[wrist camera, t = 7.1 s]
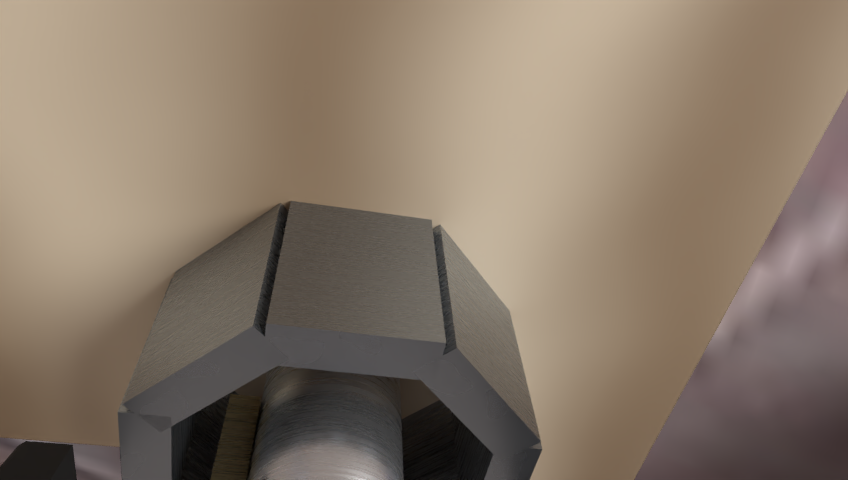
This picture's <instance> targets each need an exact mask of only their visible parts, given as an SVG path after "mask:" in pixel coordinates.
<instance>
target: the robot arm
mask: <svg viewBox="0 0 848 480" xmlns="http://www.w3.org/2000/svg"><path fill="white" fill-rule="evenodd" d="M0 480H77V478H76V470H75V462H74V453H73V445H67V444H55V443H42V442H30V441H25V442H24V443H22V444H21V445H19V446H18V447H17V448H16V449H15V450H14V451H13V453H12V454H11V455H10V456H9V457H8V458H7V459H6V461H5V462H4V463H3V464H2V465H1V466H0Z"/></svg>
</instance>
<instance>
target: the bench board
mask: <svg viewBox="0 0 848 480" xmlns="http://www.w3.org/2000/svg"><path fill="white" fill-rule="evenodd" d="M847 91H848V0H0V437H2V438H15V439H27V440H40V441H52V442H65V443H77V444H90V445H102V446H114V447H120V443H119V427H118V410H119V407H120V405H121V402H122V400H123V397H124V395H125V392H126V390H127V387H128V385H129V382H130V380H131V377H132V375H133V373H134V370H135V368H136V365H137V363H138V360H139V358H140V355H141V353H142V350H143V348H144V345H145V343H146V340H147V338H148V335H149V333H150V331H151V328H152V326H153V323H154V321H155V318H156V316H157V313H158V311H159V308H160V306H161V303H162V301H163V298H164V296H165V293H166V291H167V288H168V286H169V284H170V281H171V279H172V278H173V277H174V274H175V272H176V271H177V270H178V269H180V268H181V267H183V266H184V265H186V264H188V263H189V262H191V261H192V260H194V259H195V258H197V257H198V256H200V255H201V254H203V253H204V252H206V251H207V250H209V249H210V248H212V247H214V246H215V245H217V244H218V243H220V242H221V241H223V240H224V239H226V238H227V237H229V236H230V235H232V234H233V233H235V232H236V231H238V230H240V229H241V228H243V227H244V226H246V225H247V224H249V223H250V222H252V221H253V220H255V219H256V218H258V217H259V216H261V215H263V214H264V213H266V212H267V211H269V210H270V209H272V208H273V207H275V206H276V205H278V204H279V203H281V204H282V205H283V206H284V207H285V208H286V209H287V210H288V211H289V207H290V202H291V201H297V202H305V203H312V204H320V205H327V206H334V207H342V208H349V209H356V210H364V211H371V212H379V213H386V214H393V215H401V216H408V217H415V218H423V219H430V220H432V227H433V228H435V227H436V226H438V225H441V226H442V227H443V228H444V230H445V231H446V232H447V233H448V235H449V236H450V237H451V238H452V240H453V241H454V242H455V243H456V245H457V246H458V247H459V248H460V250H461V251H462V252H463V253H464V255H465V256H466V257H467V258H468V260H469V261H470V262H471V263H472V265H473V266H474V267H475V268H476V269H477V271H478V272H479V273H480V274H481V276H482V277H483V278H484V279H485V281H486V282H487V283H488V284H489V286H490V287H491V288H492V289H493V291H494V292H495V293H496V294H497V296H498V297H499V298H500V299H501V301H502V302H503V303H504V304H505V306H506V307H507V308H508V309H509V311H510V315H511V319H512V323H513V327H514V331H515V335H516V339H517V344H518V348H519V352H520V356H521V360H522V364H523V368H524V373H525V377H526V381H527V385H528V389H529V393H530V397H531V402H532V406H533V410H534V414H535V418H536V422H537V426H538V431H539V435H540V439H541V445H542V452H541V454H540V456H539V459H538V461H537V463H536V466H535V468H534V471H533V473H532V475H531V478H530V480H634V479H635V477H636V475H637V473H638V471H639V470H640V468H641V466H642V464H643V462H644V461H645V459H646V457H647V455H648V453H649V451H650V450H651V448H652V446H653V444H654V442H655V440H656V439H657V437H658V435H659V433H660V431H661V430H662V428H663V426H664V424H665V422H666V420H667V419H668V417H669V415H670V413H671V411H672V410H673V408H674V406H675V404H676V402H677V400H678V399H679V397H680V395H681V393H682V391H683V389H684V388H685V386H686V384H687V382H688V380H689V379H690V377H691V375H692V373H693V371H694V369H695V368H696V366H697V364H698V362H699V360H700V358H701V357H702V355H703V353H704V351H705V349H706V348H707V346H708V344H709V342H710V340H711V338H712V337H713V335H714V333H715V331H716V329H717V328H718V326H719V324H720V322H721V320H722V318H723V317H724V315H725V313H726V311H727V309H728V307H729V306H730V304H731V302H732V300H733V298H734V297H735V295H736V293H737V291H738V289H739V287H740V286H741V284H742V282H743V280H744V278H745V277H746V275H747V273H748V271H749V269H750V267H751V266H752V264H753V262H754V260H755V258H756V256H757V255H758V253H759V251H760V249H761V247H762V246H763V244H764V242H765V240H766V238H767V236H768V235H769V233H770V231H771V229H772V227H773V225H774V224H775V222H776V220H777V218H778V216H779V215H780V213H781V211H782V209H783V207H784V205H785V204H786V202H787V200H788V198H789V196H790V195H791V193H792V191H793V189H794V187H795V185H796V184H797V182H798V180H799V178H800V176H801V174H802V173H803V171H804V169H805V167H806V165H807V164H808V162H809V160H810V158H811V156H812V154H813V153H814V151H815V149H816V147H817V145H818V143H819V142H820V140H821V138H822V136H823V134H824V133H825V131H826V129H827V127H828V125H829V123H830V122H831V120H832V118H833V116H834V114H835V113H836V111H837V109H838V107H839V105H840V103H841V102H842V100H843V98H844V96H845V94H846V92H847ZM266 375H267V372H266V373H264V374H262V375H261V376H259V377H257V378H255V379H254V380H252V381H250V382H248V383H247V384H245V385H243V386H241V387H240V388H238V389H236V390H234V391H235V392H236V393H237V394H239V395H245V396H256V397H261V402H262V396H263V391H264V385H265V380H266ZM400 393H401V419H403V418H405V417H407V416H409V415H411V414H413V413H415V412H417V411H419V410H421V409H423V408H425V407H427V406H429V405H430V404H432V403H434V402H436V401H438V400H440V399H439V398H438V397H437V396H436V395H435V394H434V393H433V392H432V391H431V390H430V389H429V388H428V387H427V386H426V385H425V384H424V383H423V382H422V381H421V380H415V379H405V378H400ZM260 407H261V405H260Z"/></svg>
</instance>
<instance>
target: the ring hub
mask: <svg viewBox="0 0 848 480" xmlns="http://www.w3.org/2000/svg"><path fill="white" fill-rule="evenodd" d="M276 366H285V367H295V368H305V369H315V370H325V371H335V372H345V373H355V374H365V375H375V376H385V377H395V378H405V379H415V380H421V381H422V382H423V383H424V384H425V385H426V386H427V387H428V388H429V389H430V390H431V391H432V392H433V393H434V394H435V395H436V396H437V397H438V398H439V399H440V400H438V401H436V402H434V403H432V404H430V405H429V406H427V407H425V408H423V409H421V410H419V411H417V412H415V413H413V414H411V415H409V416H407V417H405V418H403V419H401V422H402V450H403V478H404V480H530V478H531V475H532V473H533V471H534V468H535V466H536V463H537V461H538V459H539V456H540V454H541V452H542V445H541V439H540V435H539V431H538V426H537V422H536V418H535V414H534V410H533V406H532V402H531V397H530V393H529V389H528V385H527V381H526V377H525V373H524V368H523V364H522V360H521V356H520V352H519V348H518V344H517V339H516V335H515V331H514V327H513V323H512V319H511V315H510V311H509V309H508V308H507V307H506V306H505V304H504V303H503V302H502V301H501V299H500V298H499V297H498V296H497V294H496V293H495V292H494V291H493V289H492V288H491V287H490V286H489V284H488V283H487V282H486V281H485V279H484V278H483V277H482V276H481V274H480V273H479V272H478V271H477V269H476V268H475V267H474V266H473V265H472V263H471V262H470V261H469V260H468V258H467V257H466V256H465V255H464V253H463V252H462V251H461V250H460V248H459V247H458V246H457V245H456V243H455V242H454V241H453V240H452V238H451V237H450V236H449V235H448V233H447V232H446V231H445V230H444V228H443V227H442V226H441V225H438V226H436V227H435V228H433V227H432V220H430V219H423V218H415V217H408V216H401V215H393V214H386V213H379V212H371V211H364V210H356V209H349V208H342V207H334V206H327V205H320V204H312V203H305V202H297V201H291V202H290V207H289V211H288V210H287V209H286V208H285V207H284V206H283V205H282V204H281V203H279V204H278V205H276V206H275V207H273V208H272V209H270V210H269V211H267V212H266V213H264V214H263V215H261V216H259V217H258V218H256V219H255V220H253V221H252V222H250V223H249V224H247V225H246V226H244V227H243V228H241V229H240V230H238V231H236V232H235V233H233V234H232V235H230V236H229V237H227V238H226V239H224V240H223V241H221V242H220V243H218V244H217V245H215V246H214V247H212V248H210V249H209V250H207V251H206V252H204V253H203V254H201V255H200V256H198V257H197V258H195V259H194V260H192V261H191V262H189V263H188V264H186V265H184V266H183V267H181V268H180V269H178V270H177V271H176V272H175V274H174V277H173V278H172V279H171V281H170V284H169V286H168V288H167V291H166V293H165V296H164V298H163V301H162V303H161V306H160V308H159V311H158V313H157V316H156V318H155V321H154V323H153V326H152V328H151V331H150V333H149V335H148V338H147V340H146V343H145V345H144V348H143V350H142V353H141V355H140V358H139V360H138V363H137V365H136V368H135V370H134V373H133V375H132V377H131V380H130V382H129V385H128V387H127V390H126V392H125V395H124V397H123V400H122V402H121V405H120V407H119V410H118V427H119V443H120V458H121V474H122V480H210V479H211V475H212V471H213V466H214V462H215V458H216V454H217V449H218V445H219V441H220V437H221V432H222V428H223V424H224V420H225V415H226V411H227V407H228V403H229V398H230V394H235V395H239V394H237V393H236V392H235V391H234V390H236V389H238V388H240V387H241V386H243V385H245V384H247V383H248V382H250V381H252V380H254V379H255V378H257V377H259V376H261V375H262V374H264V373H266V372H268V371H269V370H271V369H273V368H275V367H276Z"/></svg>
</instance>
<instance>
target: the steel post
mask: <svg viewBox="0 0 848 480" xmlns="http://www.w3.org/2000/svg"><path fill="white" fill-rule="evenodd" d="M260 405H261V407H260ZM210 480H404V478H403V450H402V422H401V393H400V378H395V377H385V376H375V375H365V374H355V373H345V372H335V371H325V370H315V369H305V368H295V367H285V366H276V367H275V368H273V369H271V370H269V371H268V372H267V375H266V380H265V385H264V391H263V396H262V402H261V397H256V396H245V395H235V394H230V398H229V403H228V407H227V411H226V415H225V420H224V424H223V428H222V432H221V437H220V441H219V445H218V449H217V454H216V458H215V462H214V466H213V471H212V475H211V479H210Z"/></svg>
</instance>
